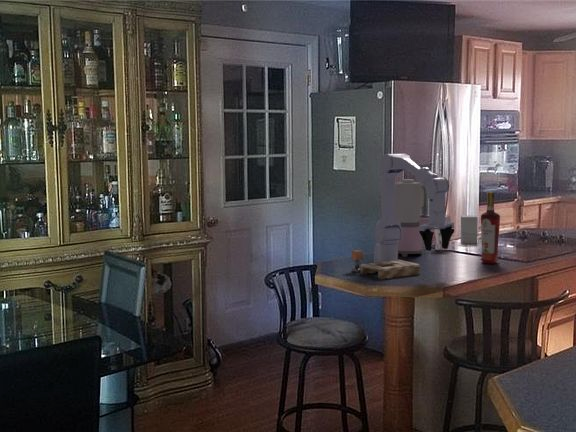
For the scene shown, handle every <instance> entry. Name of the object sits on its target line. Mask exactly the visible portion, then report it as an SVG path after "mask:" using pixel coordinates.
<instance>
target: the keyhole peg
mask: <svg viewBox="0 0 576 432" xmlns="http://www.w3.org/2000/svg"><path fill="white" fill-rule="evenodd" d="M363 252H364V251H363V250H360V249H355V250H354V249H353V250H351V260H354V267H352V268H351V272H352V273H361V267H360V261H361V260H364V258H363V257H364V255H363V254H364V253H363Z"/></svg>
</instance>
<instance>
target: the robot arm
mask: <svg viewBox="0 0 576 432" xmlns="http://www.w3.org/2000/svg"><path fill="white" fill-rule="evenodd" d="M379 171H380V172H379V174H380V194H381V195H380V196H381V197H380V200H381V207H380V208H381V218H380V219H379V220H378V221H377V222H376V223H375V231H374V239H375V240H376V242H377V243H376V244H374V248H373V263H376V262H384V261H392V260H399V258H398V257H399V253H398V243H399V241H400V240H401V238H402V234H403V233H402V229H401V223H400V222H399V221H398V220H397V219H396V212H395V183H396V182H395V181H396V180H395V179H396V177H397V176H398V175H399V174H401V173H402V172H405V171H407V172H409V173H410V174H412V175H413V176H414V180H415V182H419V183H420V184H421V186H422V187H423V188H424V189H425V191H426V193H427V198H428V222H427V223H424V224H420V225H419V233H420V234H421V236H422V242H423V243H424V247H425V251H428V252H429V251H430V252H431V251H432V247H433V245H432V244H433V238H434V237H433V236H434V234H435V229H440V232H441V237H442V248H444V249H447V248H448V245H449V246H450V242H451V241H450V240H451V238H452V236H453V234H454V233H455V222H452V221H451V222H445V215H446V194H447V193H448V191H449V189H450V182H449V180H448V179H447V178H446V176H438V174H437V173H434V172H433V171H431V170H430V168H429V167H428V166H427V167H424V166H423V167H421V166H419V164H417V163H416V162H415V161H414V160H412V158H411V155H408V154H407V153H406V152H405V153H404V152H402V153H384V154H383V155H382V156H381V158H380V159H379ZM435 227H438V228H435ZM432 230H434V231H432Z"/></svg>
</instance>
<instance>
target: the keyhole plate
mask: <svg viewBox="0 0 576 432" xmlns="http://www.w3.org/2000/svg"><path fill="white" fill-rule="evenodd" d="M360 268H361V272H360V275H362V274H363V275H368V274H367V273H370V274H375V273H376V272H378V273H377V279H378V280H386V279H385V278H387V279H393V277H395V278H400V277H401V276H402V277H407V276H414V275H415V276H416V275H420V273H421V271H420V270H421V265H420V264H419V263H416V262H413V261H412V262H411V261H406V260H402V259H398V260H392V261H384V262H376V263H374V262H369V263H361V264H360Z"/></svg>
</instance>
